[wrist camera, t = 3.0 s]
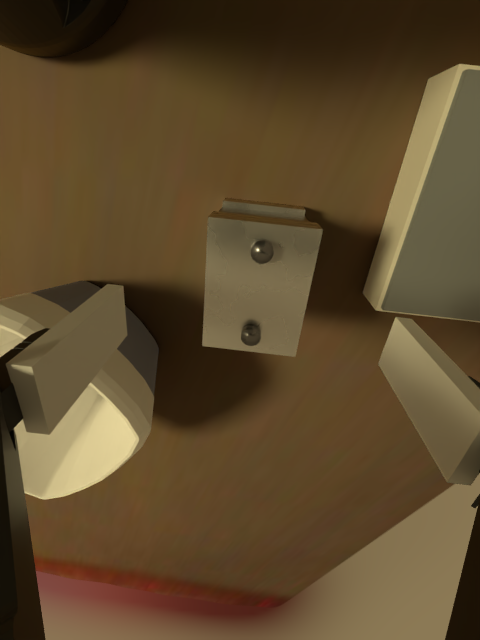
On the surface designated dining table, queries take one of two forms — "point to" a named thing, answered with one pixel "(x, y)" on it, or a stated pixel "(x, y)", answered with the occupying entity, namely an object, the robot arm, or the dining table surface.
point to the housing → (258, 276)
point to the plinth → (435, 209)
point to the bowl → (84, 398)
